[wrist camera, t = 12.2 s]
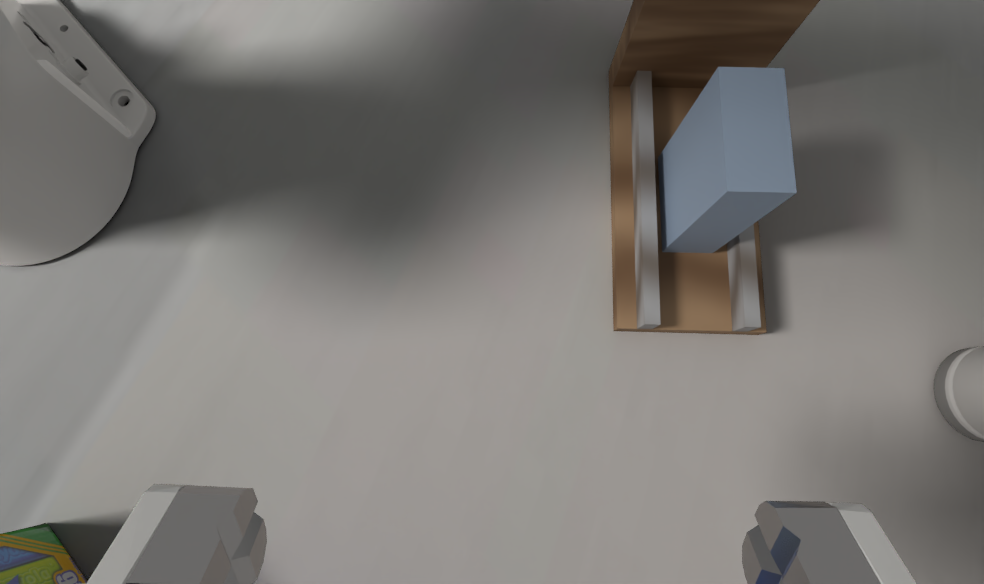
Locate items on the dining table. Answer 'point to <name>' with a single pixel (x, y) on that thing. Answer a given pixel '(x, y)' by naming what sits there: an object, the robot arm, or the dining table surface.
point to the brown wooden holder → (644, 134)
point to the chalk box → (36, 558)
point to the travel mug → (962, 391)
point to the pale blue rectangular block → (726, 160)
